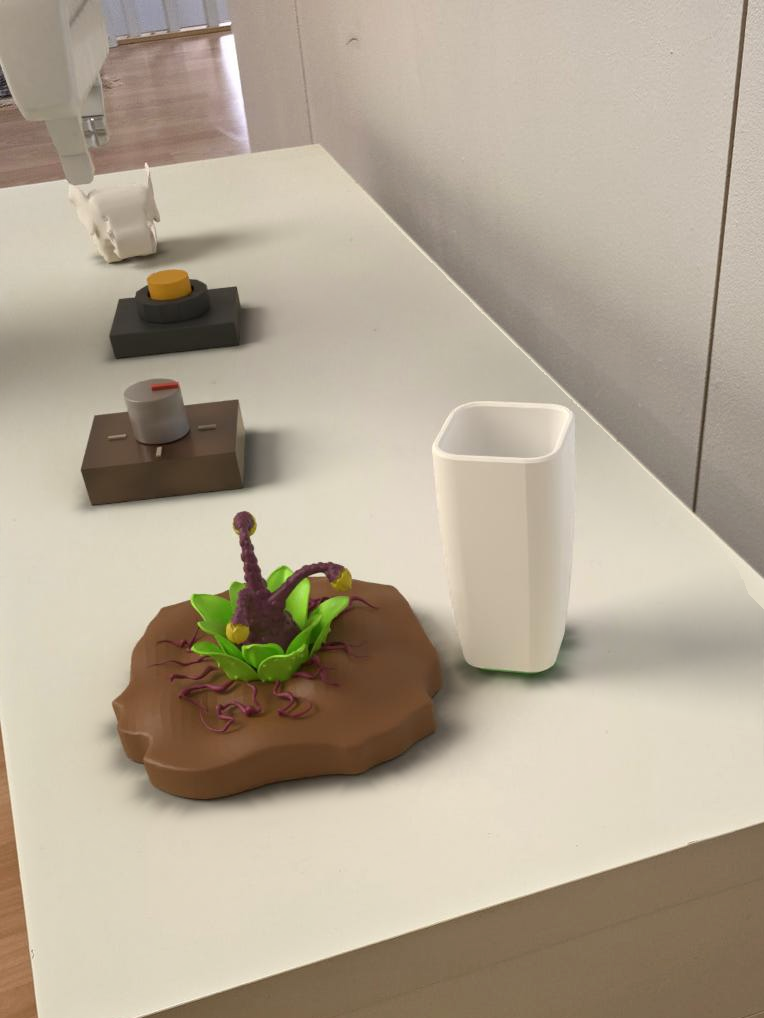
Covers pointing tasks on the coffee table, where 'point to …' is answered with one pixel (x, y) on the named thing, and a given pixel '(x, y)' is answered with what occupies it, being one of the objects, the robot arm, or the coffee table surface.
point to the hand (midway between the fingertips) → (90, 162)
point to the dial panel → (165, 456)
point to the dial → (156, 411)
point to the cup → (507, 529)
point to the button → (169, 284)
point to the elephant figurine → (119, 218)
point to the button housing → (176, 321)
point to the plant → (277, 681)
